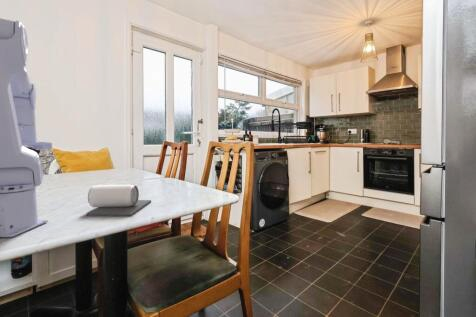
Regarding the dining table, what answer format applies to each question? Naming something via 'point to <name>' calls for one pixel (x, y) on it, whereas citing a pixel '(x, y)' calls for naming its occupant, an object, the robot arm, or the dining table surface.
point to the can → (113, 195)
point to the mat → (119, 210)
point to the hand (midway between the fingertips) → (25, 175)
